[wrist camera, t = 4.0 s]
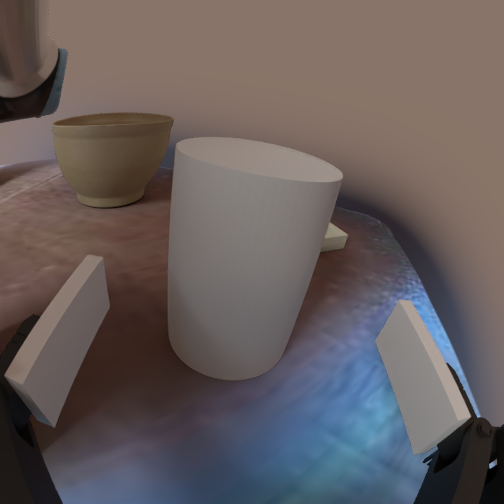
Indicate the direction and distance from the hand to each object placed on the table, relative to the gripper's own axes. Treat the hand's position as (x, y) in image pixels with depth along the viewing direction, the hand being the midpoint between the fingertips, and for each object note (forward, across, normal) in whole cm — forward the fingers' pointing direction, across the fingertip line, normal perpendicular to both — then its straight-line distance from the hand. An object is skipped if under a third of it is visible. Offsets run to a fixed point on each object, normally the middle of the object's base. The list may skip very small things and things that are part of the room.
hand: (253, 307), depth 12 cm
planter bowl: (+26, -18, -7) cm, 32 cm away
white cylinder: (+5, -1, -7) cm, 8 cm away
